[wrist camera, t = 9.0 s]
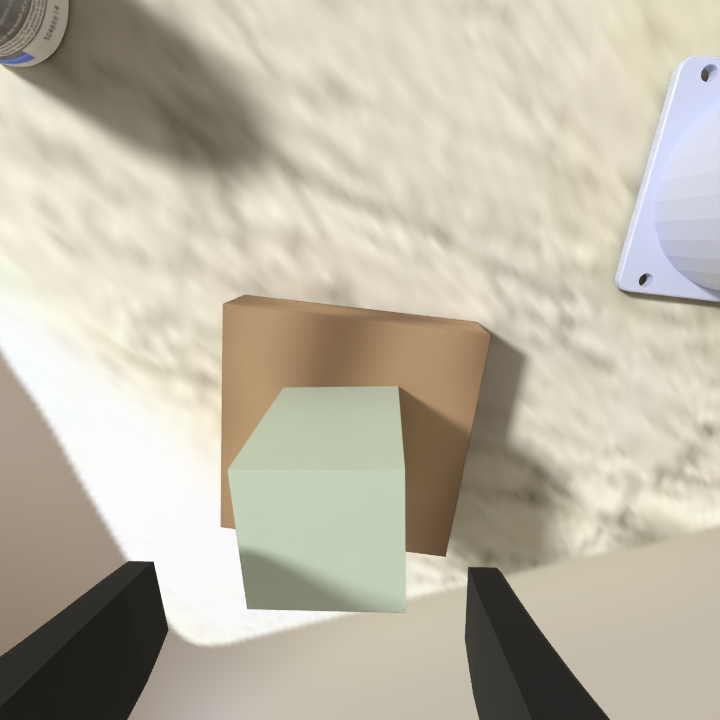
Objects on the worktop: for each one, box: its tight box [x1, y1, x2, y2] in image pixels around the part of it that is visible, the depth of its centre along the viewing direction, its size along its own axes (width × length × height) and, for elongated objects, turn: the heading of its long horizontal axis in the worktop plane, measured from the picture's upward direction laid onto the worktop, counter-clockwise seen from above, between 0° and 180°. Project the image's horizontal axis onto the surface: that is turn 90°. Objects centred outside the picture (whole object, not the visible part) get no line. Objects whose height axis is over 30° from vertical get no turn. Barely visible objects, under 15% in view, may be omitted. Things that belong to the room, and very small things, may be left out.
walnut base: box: [221, 295, 491, 557], centre depth 18 cm, size 10×10×2 cm
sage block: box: [227, 386, 406, 613], centre depth 14 cm, size 4×4×6 cm
